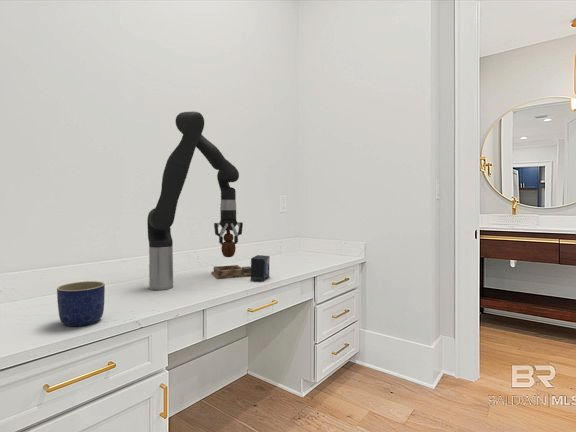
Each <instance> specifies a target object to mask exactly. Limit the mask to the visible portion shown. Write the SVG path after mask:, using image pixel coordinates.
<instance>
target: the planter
mask: <svg viewBox="0 0 576 432" xmlns="http://www.w3.org/2000/svg"><path fill="white" fill-rule="evenodd" d="M105 286H106V285H105V283H104V282H103V281H94V280H93V281H92V280H90V281H76V282H70V283H65V284H62V285H60V286H58V287H57V288H56V297H57V298H56V299H57V310H58V316H59V320H60V322H61V323H62V324H63V325H65V326H68V327H80V326H79V325H83V326H87V325H86V324H88V325H91V324H90V323H92V324H94V323H96V322H98V321H100V320H101V318H102V317H103V314H104V310H105V309H104V308H105V293H106V292H105ZM93 322H94V323H93Z"/></svg>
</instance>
